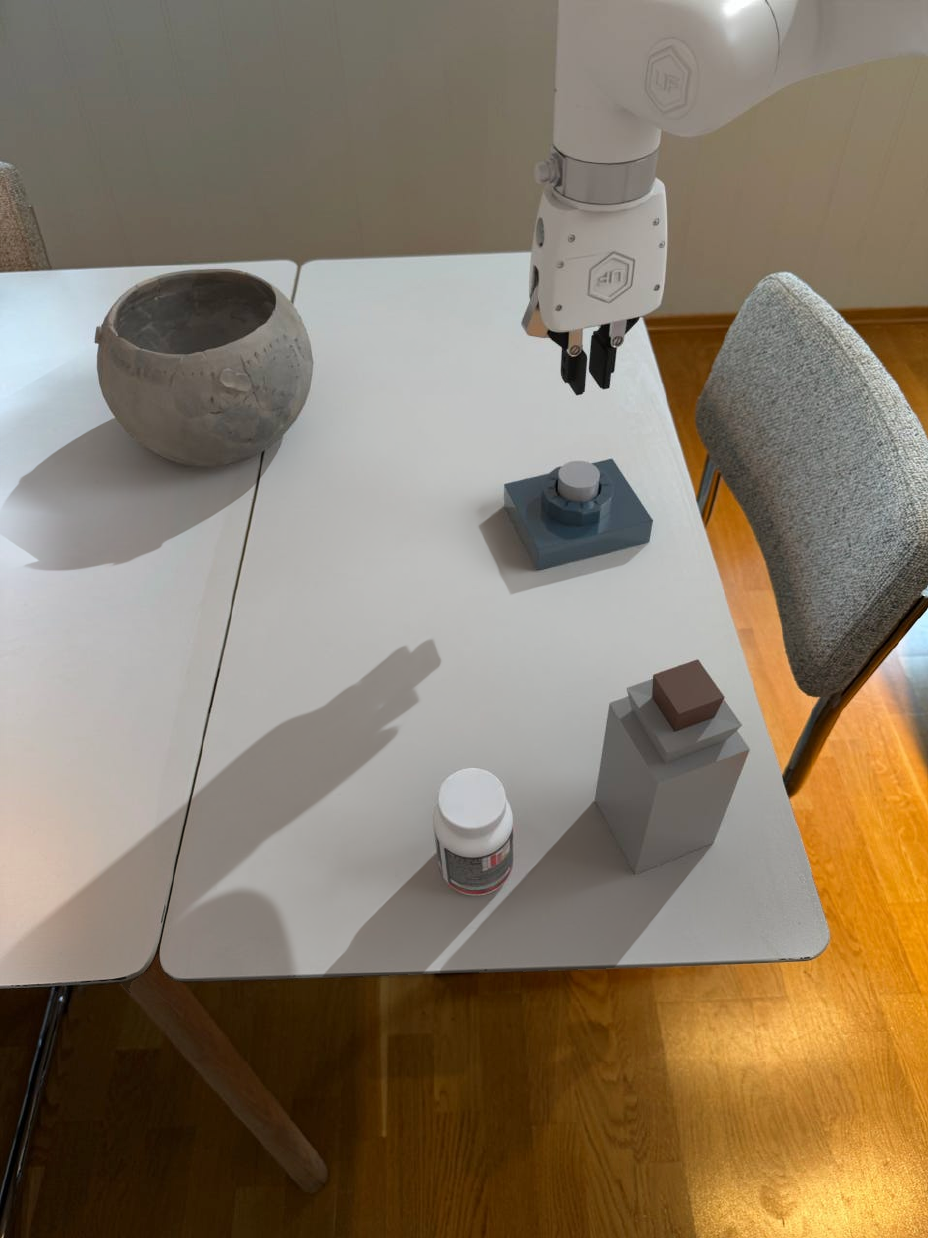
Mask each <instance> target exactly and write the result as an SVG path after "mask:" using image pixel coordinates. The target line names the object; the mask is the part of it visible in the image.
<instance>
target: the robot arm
mask: <svg viewBox="0 0 928 1238" xmlns="http://www.w3.org/2000/svg"><path fill="white" fill-rule="evenodd" d="M556 27H557V29H556V52H555V54H556V55H555V74H554V75H555V78H554V80H555V81H554V101H553V102H554V105H553V128H552V129H553V130H552V131H553V132H552V143H551V144H549V155H548V158H545V159H544V160H543V161H539V162H535V163H534V166H533V176H534V180H535V183H537V184H543V183H546V185H545V186H544V187H543V190H542V194H541V198H540V201H539V205H538V209H537V214H536V220H535V224H534V230H533V238H532V246H531V253H530V263H529V265H530V266H529V279H528V295H529V296H528V297H529V301H528V304H527V307H526V309H525V312H524V315H523V317H522V320H521V322H520V325H521V327H522V329H523V330H524V332H525V334H526V335H527V336H529V337H533V338H540V339H550V340H551V341H552V342H553V343H554V344H556V345H557V346H559V347H560V348H561V354H560V376H561V379H562V381H563V382H564V383H565V384H568V385H569V386H570V388H571V391H573V393H574V395H575V396H582V395H583V394H584V393H585V391H586V380H587V367H588V373H589V374H590V375H591V377H592V379H593V380H594V381H595V383H596V384H597V386H598V387H599V389H602V390H607V389H610V387H611V379H612V378H611V377H612V374H614V373H615V370H616V360H617V351H618V348H620V347H621V346H622V345H623V343H624V342H625V338H626V337H625V336H626V334H628V332H629V331H630V330H631V329H632V328H633V327H634V326H635V325H636V324H637V323H638V322H639V321H640V318H641V319H643V318H644V317H646V316H648V315H650V314H652V313H654V312H655V311H657V310H658V309H660V308H661V306H662V304H663V301H662V300H663V296H664V289H665V282H666V273H667V257H668V209H667V208H668V207H667V194H666V186H665V183H664V182H663V181H661V180H660V179H659V178H658V177H656V175H657V168H658V161H659V152H660V145H661V137H662V136H661V135H662V131H663V132H665V133H668V134H670V135H674V136H677V137H683V138H696V137H702V136H705V135H708V134H711V133H714V132H715V131H717V130H719V129H721V128H722V127H724V126H725V125H727V124H728V123H730V122H731V121H734V120H735V119H737V118H738V117H740V116H742V115H743V114H745V113H746V112H748V111H749V110H750V109H751V108H753V107H754V106H756V105H758V104H759V103H761V102H763V101H764V100H765V99H767V98H769V97H770V96H772V95H774V94H775V93H778V92H779V91H781V90H782V89H784V88H785V87H787V86H789V85H792V84H794V83H797V82H799V81H802V80H805V79H808V78H812V77H815V76H819V75H821V74H822V75H823V74H826V73H829V72H834V71H838V70H841V69H846V68H849V67H854V66H857V65H858V66H859V65H862V64H866V63H871V62H875V61H880V60H885V59H890V58H897V57H905V56H921V57H927V58H928V0H558V4H557V24H556ZM595 327H597V328H598V329H597V330H593V331H592V335H591V336H590V346H589V357H588V355H587V353H586V352H585V350H584V349H583V346H584V345H583V339H584V338H583V337H584V330H585V329H589V328H595ZM588 358H589V359H588ZM588 360H589V361H588Z"/></svg>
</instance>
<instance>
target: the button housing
mask: <svg viewBox="0 0 928 1238" xmlns="http://www.w3.org/2000/svg"><path fill="white" fill-rule="evenodd" d="M590 463H591V464H593V465H594V466H596V467H597V469H598V470H599V473H600V479H599V489H598V494H597V496H596V497H595V498H594V499H593V500H591V501H587V502H583V503H578V502H570V501H567V500H565V499H564V498H562V497H561V496H560V495H559V493H558V489H557V488H558V473H559V470H560V468H561V467H562V466H563V465H560V466H556V467H555V468H554V469H553V470H551V471H550V472H548V473H544V474H541V475H536V476H532V477H528V478H527V477H526V478H523V479H519V480H515V481H511V482H507V483H504V484H503V506H504V509H505V510H506V512H507V514H508V516H509V518H510V521H511V523H512V524H513V526H514V528H515V530H516V532H517V534H518V536H519V538H520V540H521V541H522V544H523V546H524V549H526V552H527V553H528V555H529V558H530V560H531V561H532V563H533V566H534V567H535V570H536V571H543V570H546V569H550V568H553V567H557V566H562V565H565V564H569V563H572V562H573V563H574V562H577V561H581V560H584V559H589V558H592V557H596V556H601V555H605V554H608V553H612V552H616V551H620V550H623V549H628V548H632V547H635V546H639V545H644V544H647V543H650V540H651V535H652V529H653V524H654V520H653V518H652V517H651V515H650V513H649V512H648V510H647V509H646V507H645V505H643V503H642V502H641V500H640V498H639V497H638V495H637V494H636V492H635V491H634V489H633V487H632V486H631V485H630V483H629V481H628V480H627V479H626V477H625V476H624V474H623V472H622V471H621V469H620V467H618V465H617V463H616V462H615V460H614V458H608V459H603V460H599V461H595V462H590Z"/></svg>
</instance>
